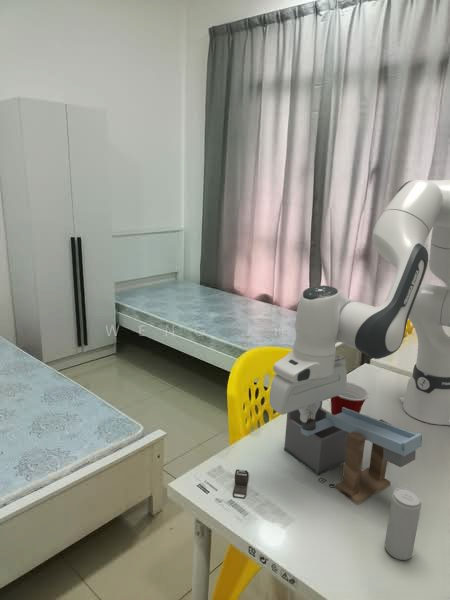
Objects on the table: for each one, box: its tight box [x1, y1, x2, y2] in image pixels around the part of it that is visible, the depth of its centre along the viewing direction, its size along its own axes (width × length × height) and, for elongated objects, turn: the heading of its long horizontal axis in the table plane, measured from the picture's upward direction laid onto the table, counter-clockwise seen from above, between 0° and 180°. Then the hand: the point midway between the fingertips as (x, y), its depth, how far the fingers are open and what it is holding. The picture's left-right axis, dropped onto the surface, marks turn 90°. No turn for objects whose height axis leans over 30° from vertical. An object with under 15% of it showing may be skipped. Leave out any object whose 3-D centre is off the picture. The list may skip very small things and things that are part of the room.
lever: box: [301, 407, 423, 468], centre depth 90 cm, size 14×20×6 cm
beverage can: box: [384, 487, 422, 561], centre depth 77 cm, size 5×5×12 cm
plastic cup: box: [330, 381, 370, 415], centre depth 118 cm, size 11×11×12 cm
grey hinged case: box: [232, 469, 250, 500], centre depth 94 cm, size 8×3×4 cm, turn 171°
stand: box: [335, 419, 392, 505], centre depth 94 cm, size 11×6×14 cm, turn 124°
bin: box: [284, 401, 349, 476], centre depth 105 cm, size 12×12×16 cm
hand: (307, 419), depth 94 cm, fingers closed, pressing on lever
